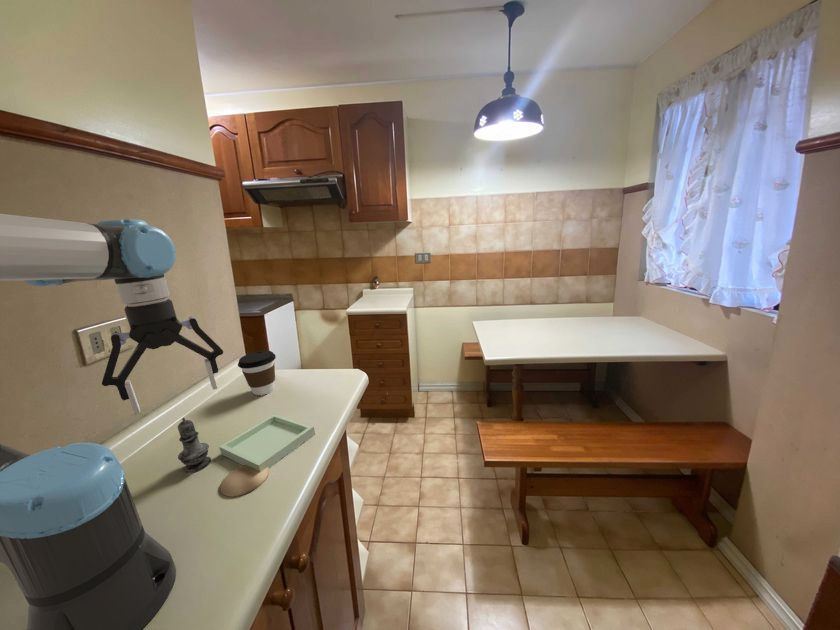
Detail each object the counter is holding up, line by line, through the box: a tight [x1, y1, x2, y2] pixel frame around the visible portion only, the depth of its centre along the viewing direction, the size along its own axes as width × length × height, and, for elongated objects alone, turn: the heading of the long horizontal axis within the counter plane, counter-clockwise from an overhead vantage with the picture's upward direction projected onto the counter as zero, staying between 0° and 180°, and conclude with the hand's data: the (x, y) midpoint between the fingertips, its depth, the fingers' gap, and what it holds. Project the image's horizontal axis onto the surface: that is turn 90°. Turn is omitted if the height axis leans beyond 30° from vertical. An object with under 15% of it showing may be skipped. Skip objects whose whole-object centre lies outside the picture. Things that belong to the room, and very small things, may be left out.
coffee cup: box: [237, 350, 277, 396], centre depth 108 cm, size 11×11×12 cm
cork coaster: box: [220, 465, 270, 498], centre depth 70 cm, size 9×9×1 cm
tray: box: [218, 413, 316, 472], centre depth 81 cm, size 15×15×2 cm
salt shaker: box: [177, 417, 212, 474], centre depth 75 cm, size 6×6×12 cm
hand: (178, 399), depth 72 cm, fingers open, 13 cm apart
